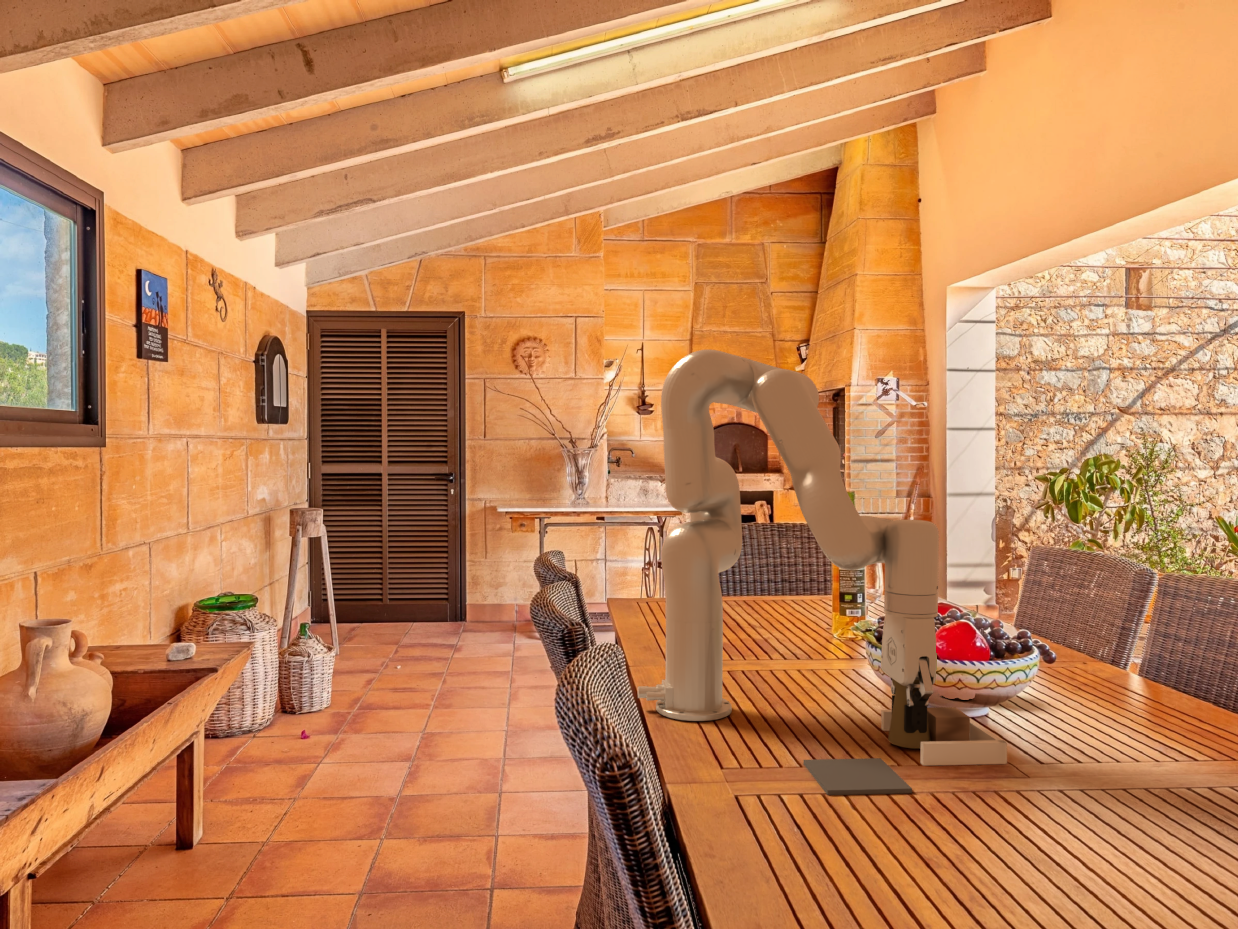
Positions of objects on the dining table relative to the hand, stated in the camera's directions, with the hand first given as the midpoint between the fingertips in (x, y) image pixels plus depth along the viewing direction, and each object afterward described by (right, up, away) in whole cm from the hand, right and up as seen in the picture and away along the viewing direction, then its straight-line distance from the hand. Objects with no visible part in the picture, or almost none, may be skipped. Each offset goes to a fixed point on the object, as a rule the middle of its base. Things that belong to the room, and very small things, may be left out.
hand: (908, 725), depth 131 cm
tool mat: (-11, -3, -13) cm, 17 cm away
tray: (+4, -3, 0) cm, 5 cm away
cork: (0, -2, 0) cm, 3 cm away
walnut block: (+6, -3, 0) cm, 6 cm away
